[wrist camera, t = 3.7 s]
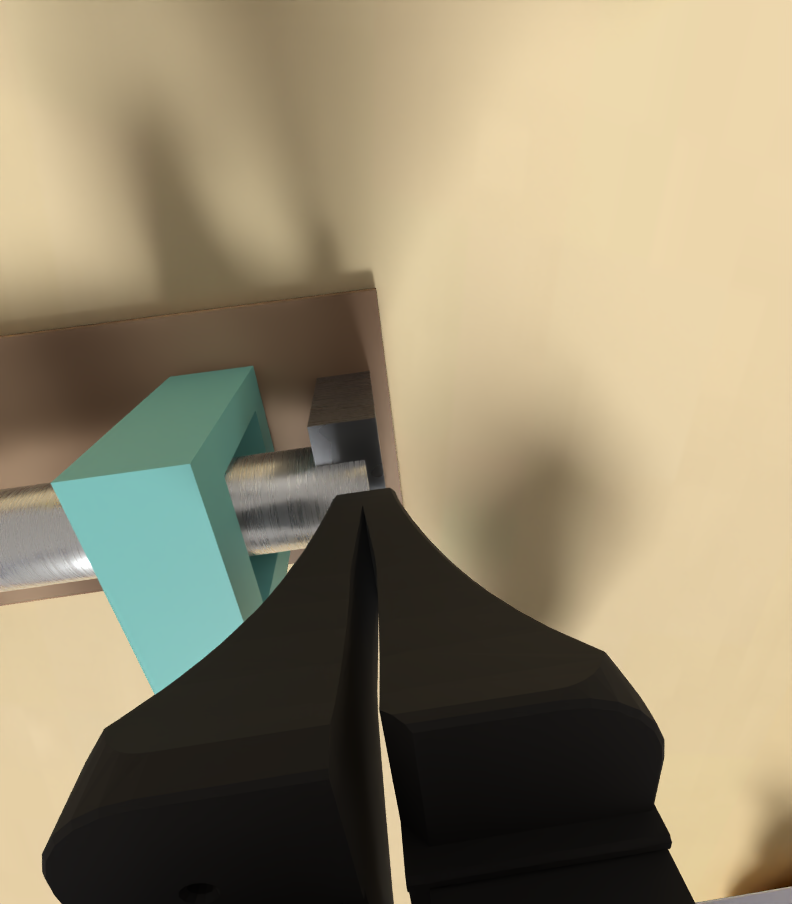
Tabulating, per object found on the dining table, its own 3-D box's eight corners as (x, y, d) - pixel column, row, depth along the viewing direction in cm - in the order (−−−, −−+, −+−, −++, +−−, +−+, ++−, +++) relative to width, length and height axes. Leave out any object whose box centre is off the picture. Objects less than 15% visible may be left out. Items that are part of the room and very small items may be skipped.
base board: (-117, 615, 17) (-126, 624, 17) (-303, 375, 13) (-321, 379, 13) (406, 540, 18) (408, 546, 18) (375, 287, 14) (376, 289, 14)
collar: (223, 540, 16) (159, 705, 11) (169, 376, 14) (50, 482, 8) (294, 530, 17) (266, 689, 11) (253, 365, 14) (190, 464, 8)
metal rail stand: (-151, 570, 16) (-326, 695, 12) (-243, 453, 14) (-490, 551, 10) (386, 494, 17) (399, 587, 12) (369, 370, 15) (377, 432, 10)
